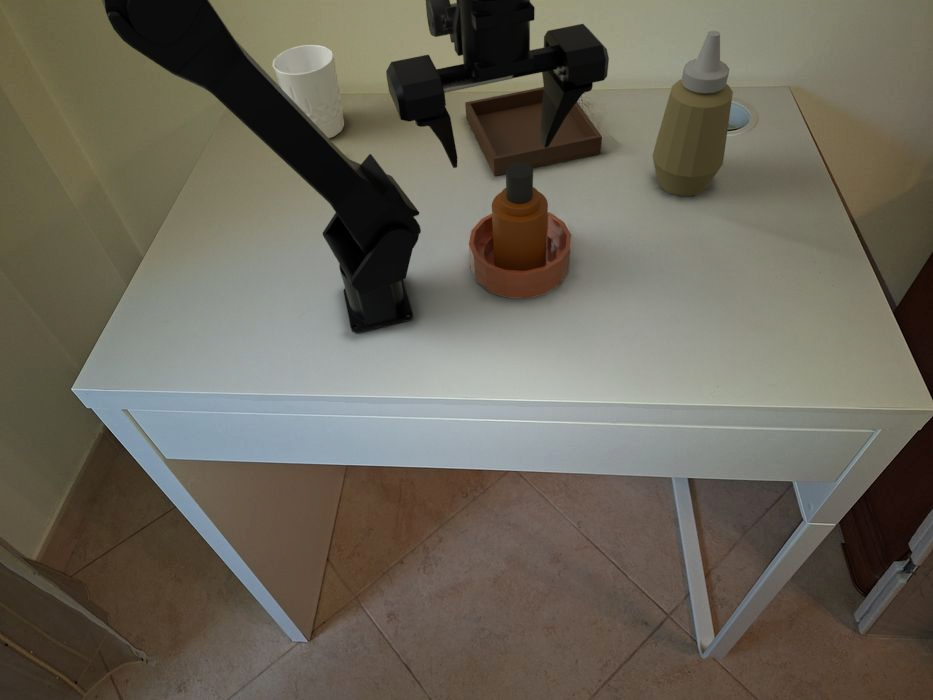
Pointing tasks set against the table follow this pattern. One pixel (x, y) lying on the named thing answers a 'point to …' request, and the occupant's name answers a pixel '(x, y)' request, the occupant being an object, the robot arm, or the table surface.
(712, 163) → the squeeze bottle
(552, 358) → the table surface
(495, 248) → the bottle
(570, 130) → the tray
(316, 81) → the white cup
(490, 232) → the bowl
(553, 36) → the robot arm
